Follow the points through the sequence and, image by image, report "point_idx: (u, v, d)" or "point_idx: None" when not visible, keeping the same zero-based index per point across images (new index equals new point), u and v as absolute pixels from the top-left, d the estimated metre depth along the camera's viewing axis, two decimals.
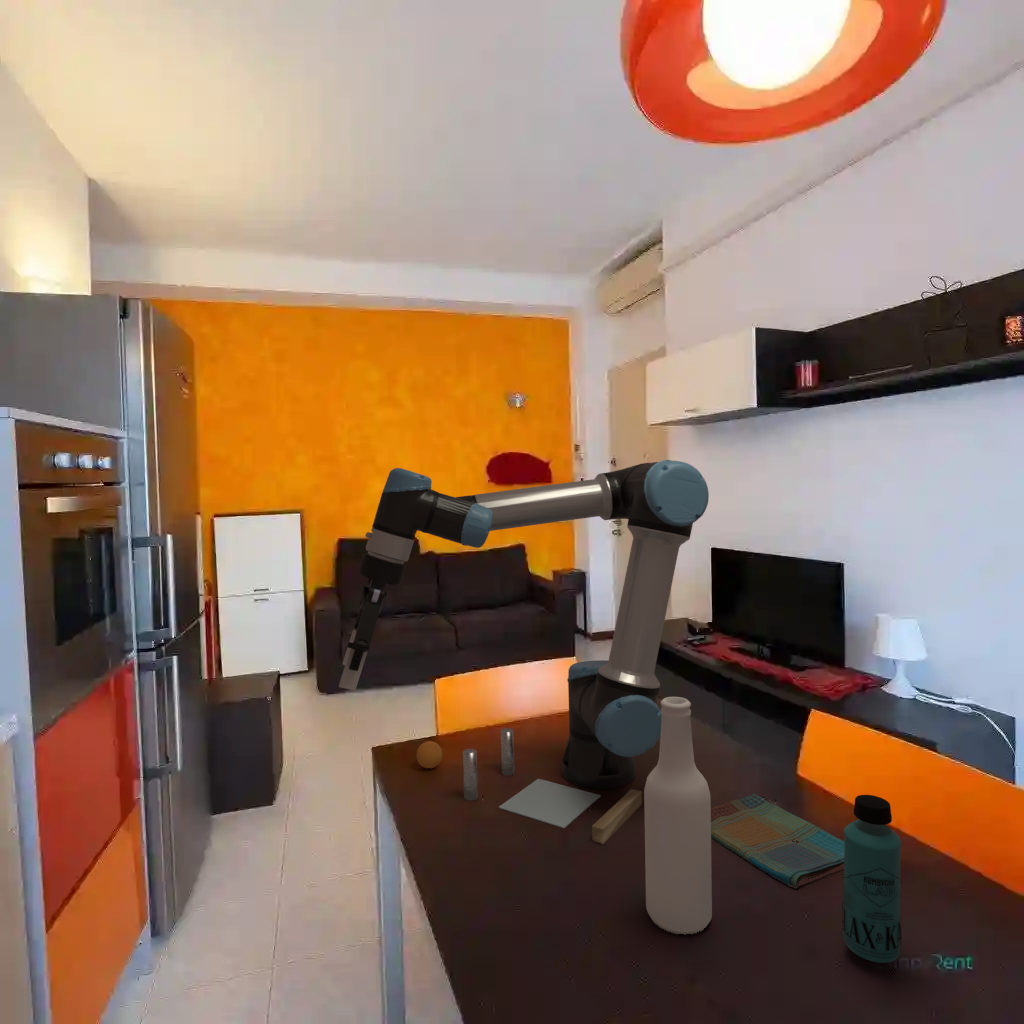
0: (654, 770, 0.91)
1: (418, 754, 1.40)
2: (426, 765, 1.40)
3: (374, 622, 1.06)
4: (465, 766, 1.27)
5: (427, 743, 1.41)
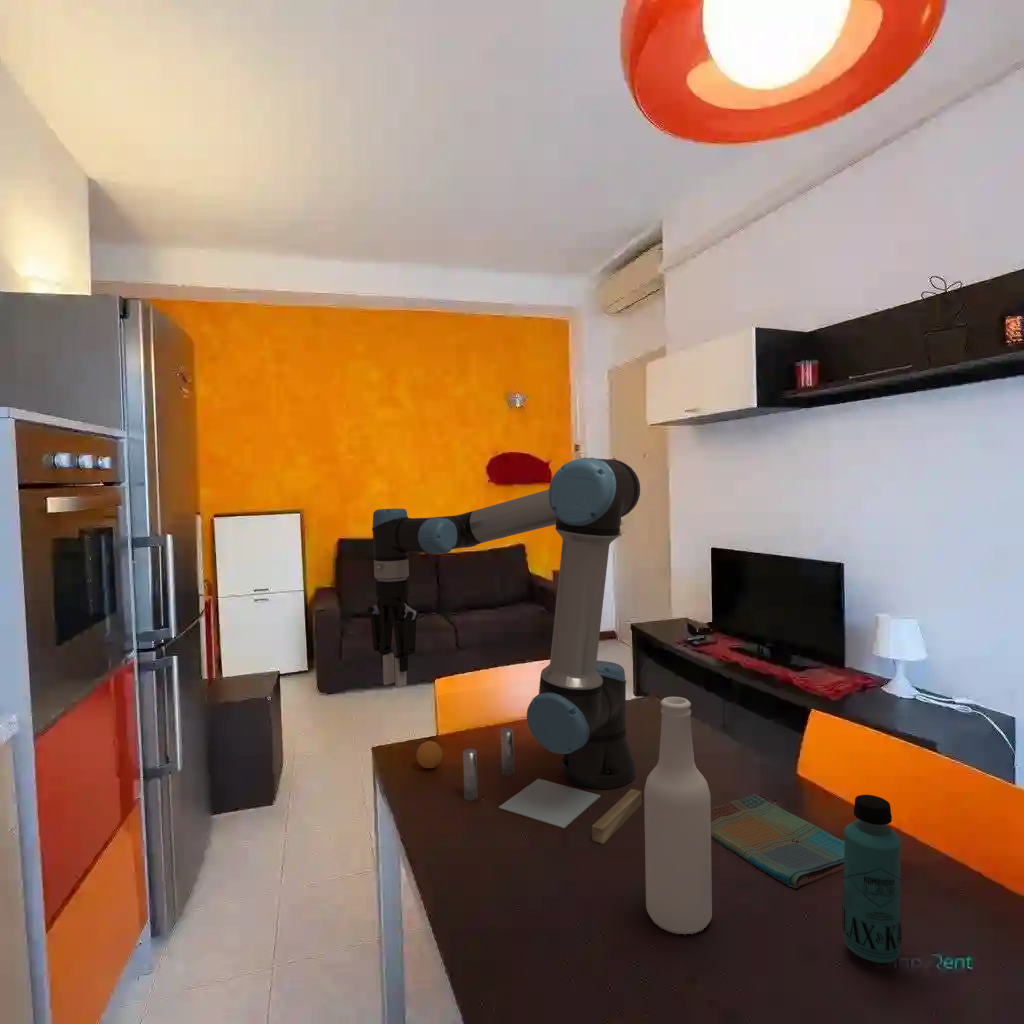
0: (654, 770, 0.91)
1: (418, 754, 1.40)
2: (426, 765, 1.40)
3: (415, 633, 1.44)
4: (465, 766, 1.27)
5: (427, 743, 1.41)
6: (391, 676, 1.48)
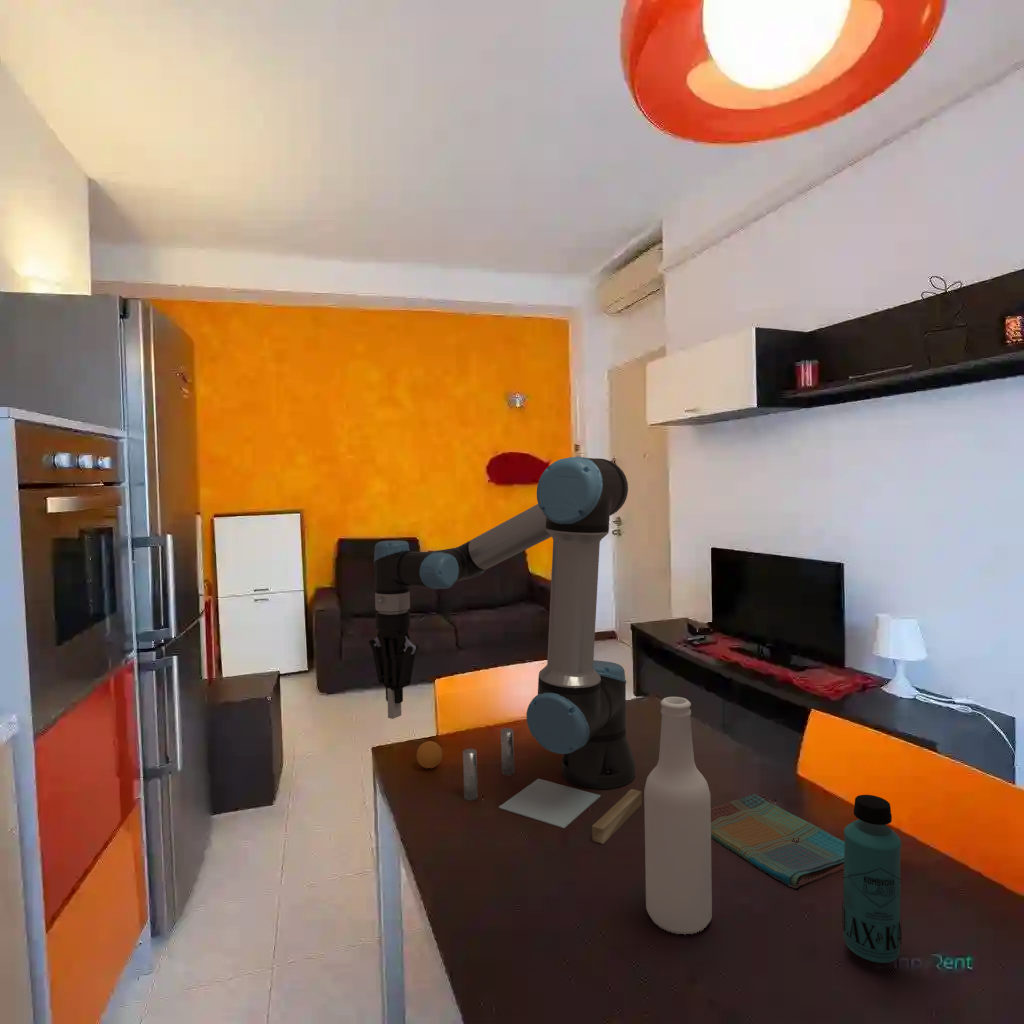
0: (654, 770, 0.91)
1: (418, 754, 1.40)
2: (426, 765, 1.40)
3: (412, 667, 1.45)
4: (465, 766, 1.27)
5: (427, 743, 1.41)
6: None
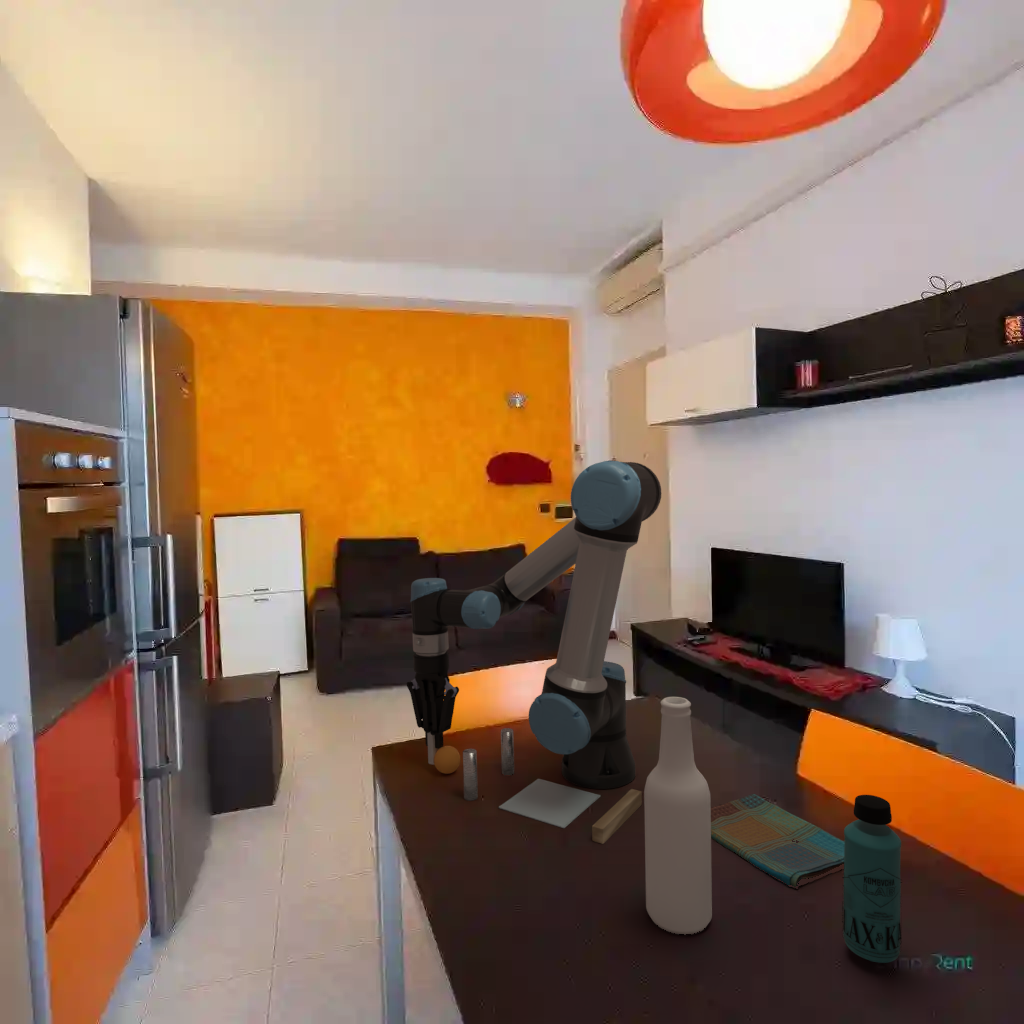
0: (654, 770, 0.91)
1: (440, 758, 1.37)
2: (438, 769, 1.38)
3: (453, 710, 1.39)
4: (465, 766, 1.27)
5: (454, 758, 1.37)
6: None
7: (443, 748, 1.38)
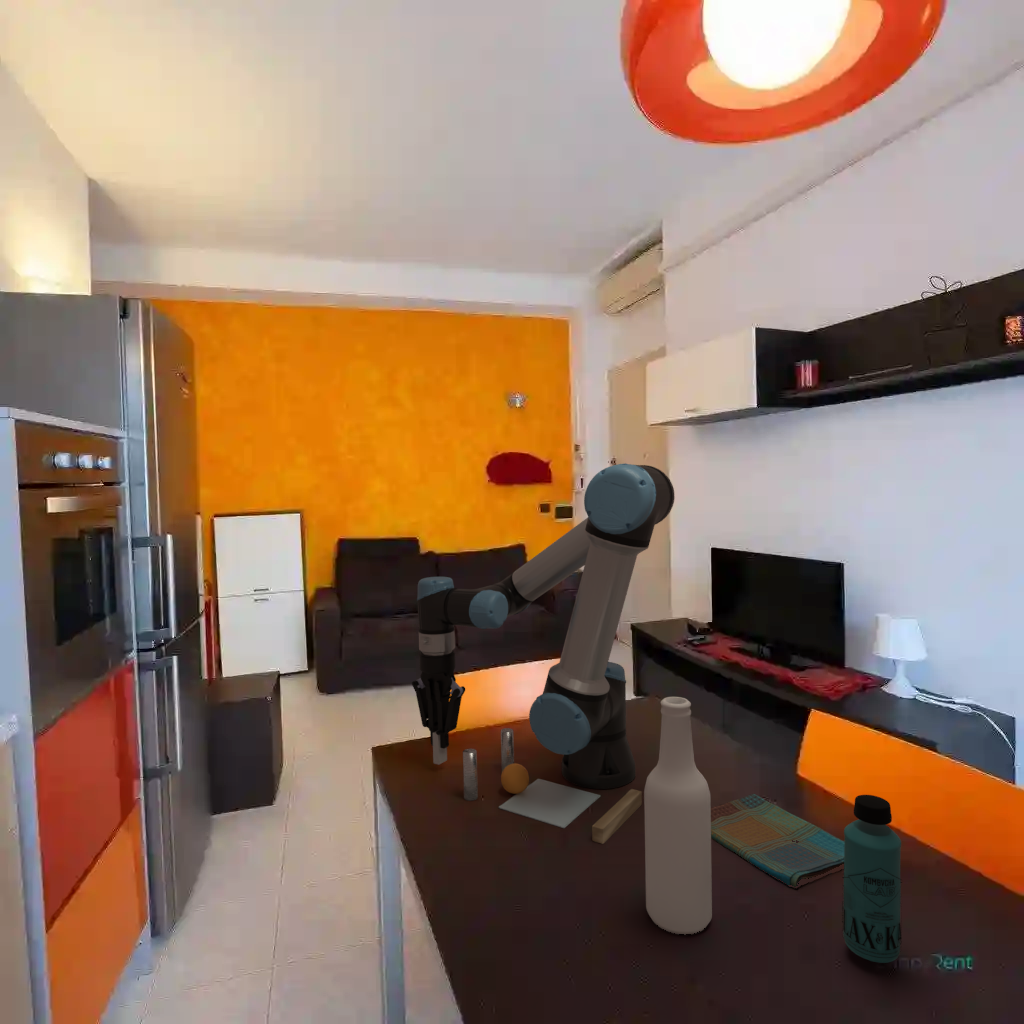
0: (654, 770, 0.91)
1: (508, 777, 1.27)
2: (505, 789, 1.28)
3: (458, 710, 1.38)
4: (465, 766, 1.27)
5: (523, 776, 1.27)
6: None
7: (510, 766, 1.29)
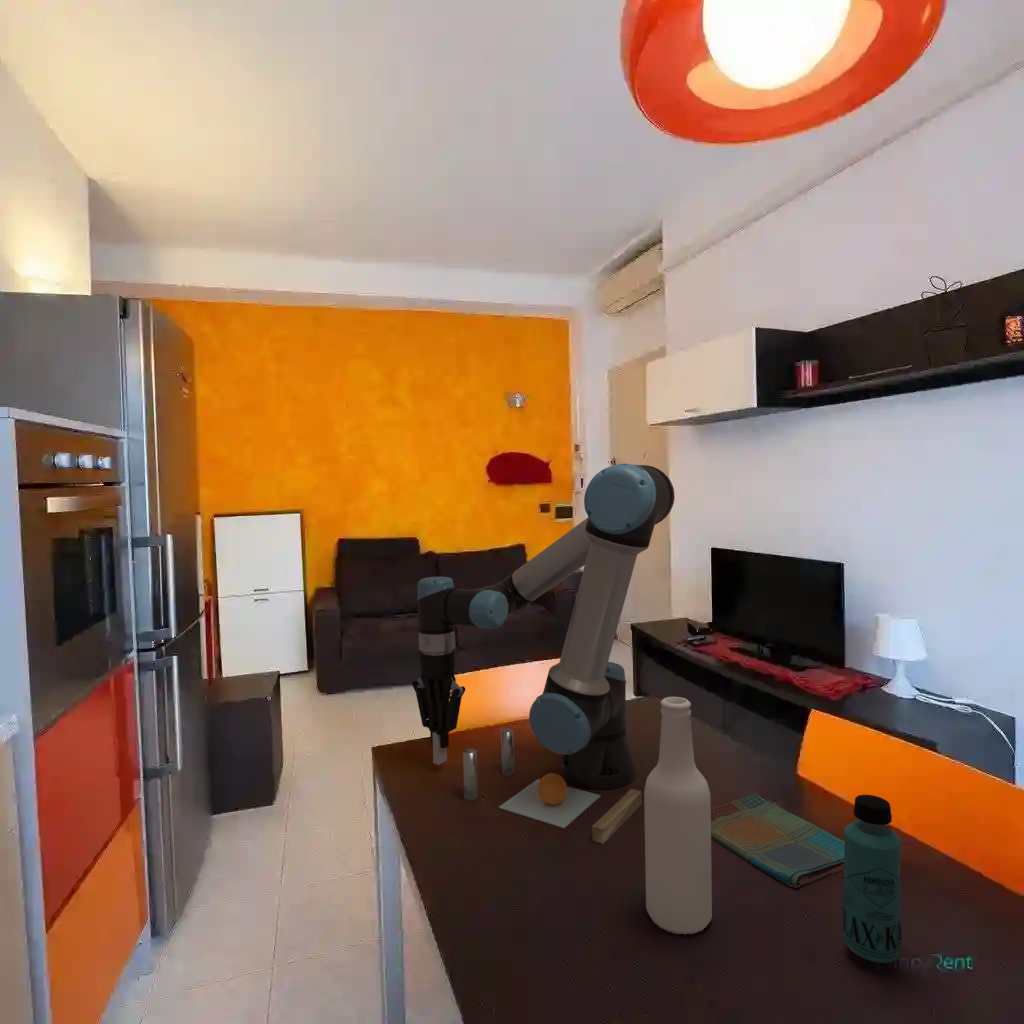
0: (654, 770, 0.91)
1: (545, 800, 1.23)
2: (549, 786, 1.22)
3: (458, 710, 1.38)
4: (465, 766, 1.27)
5: None
6: None
7: None
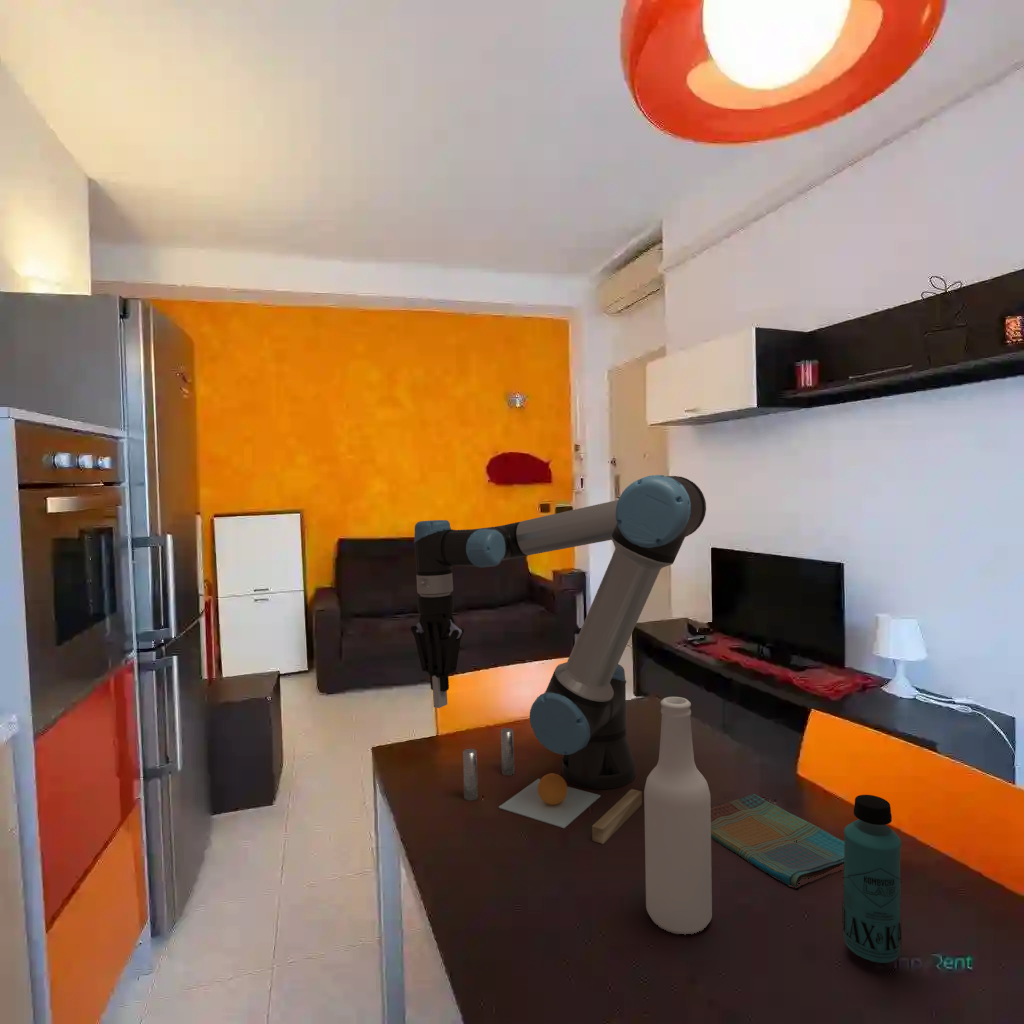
0: (654, 770, 0.91)
1: (545, 800, 1.23)
2: (549, 786, 1.22)
3: (458, 652, 1.37)
4: (465, 766, 1.27)
5: None
6: None
7: None
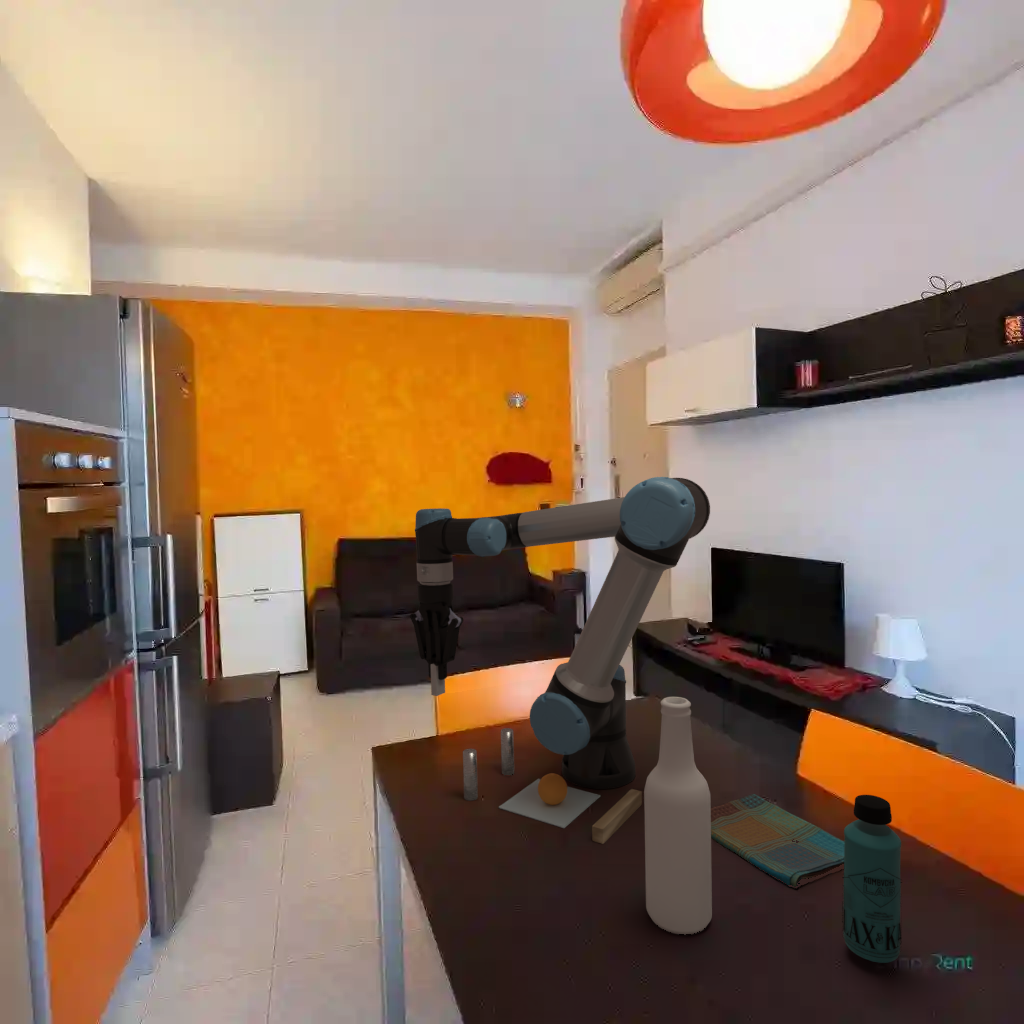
0: (654, 770, 0.91)
1: (545, 800, 1.23)
2: (549, 786, 1.22)
3: (456, 641, 1.37)
4: (465, 766, 1.27)
5: None
6: None
7: None
